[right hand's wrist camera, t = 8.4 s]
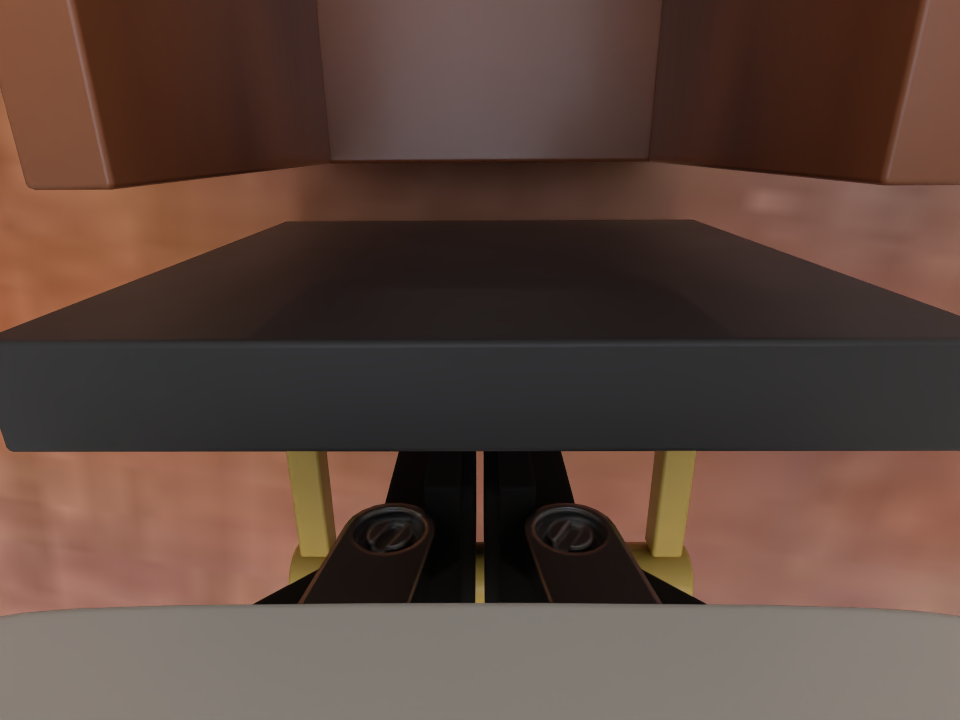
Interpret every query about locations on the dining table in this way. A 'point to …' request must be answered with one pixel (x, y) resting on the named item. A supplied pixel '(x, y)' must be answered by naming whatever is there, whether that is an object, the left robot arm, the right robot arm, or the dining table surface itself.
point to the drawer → (484, 235)
